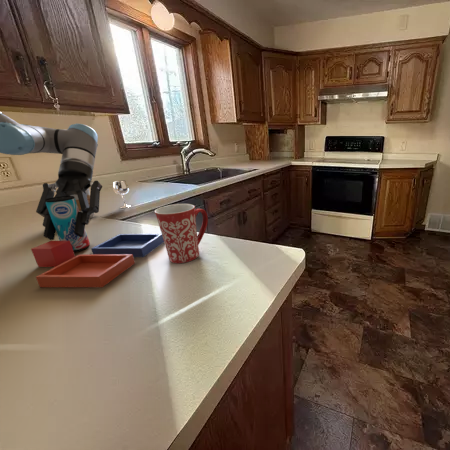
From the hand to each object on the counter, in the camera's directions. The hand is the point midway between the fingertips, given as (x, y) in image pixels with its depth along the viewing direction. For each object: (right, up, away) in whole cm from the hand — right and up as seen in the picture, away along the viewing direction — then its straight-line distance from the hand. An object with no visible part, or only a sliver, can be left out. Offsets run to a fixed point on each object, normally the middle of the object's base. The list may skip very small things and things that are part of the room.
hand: (63, 236), depth 65 cm
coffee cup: (-24, +6, +34) cm, 42 cm away
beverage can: (-1, -4, +5) cm, 7 cm away
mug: (+34, -5, 0) cm, 34 cm away
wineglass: (-19, +11, +50) cm, 55 cm away
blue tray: (+15, -4, +5) cm, 16 cm away
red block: (+1, -7, -3) cm, 7 cm away
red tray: (+15, -9, -9) cm, 19 cm away
